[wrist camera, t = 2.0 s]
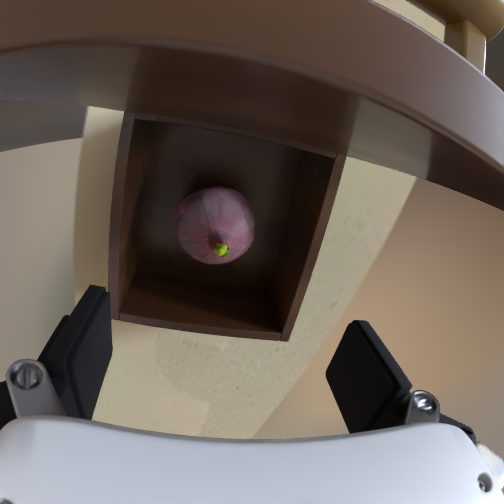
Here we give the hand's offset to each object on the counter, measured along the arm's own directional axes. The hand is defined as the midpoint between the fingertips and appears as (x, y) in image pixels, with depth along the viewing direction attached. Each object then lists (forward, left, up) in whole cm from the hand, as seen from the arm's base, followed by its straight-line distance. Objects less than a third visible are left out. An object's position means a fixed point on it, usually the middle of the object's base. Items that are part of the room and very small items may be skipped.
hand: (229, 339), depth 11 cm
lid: (+2, +7, -1) cm, 8 cm away
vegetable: (0, 0, -17) cm, 17 cm away
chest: (0, 0, -18) cm, 18 cm away
